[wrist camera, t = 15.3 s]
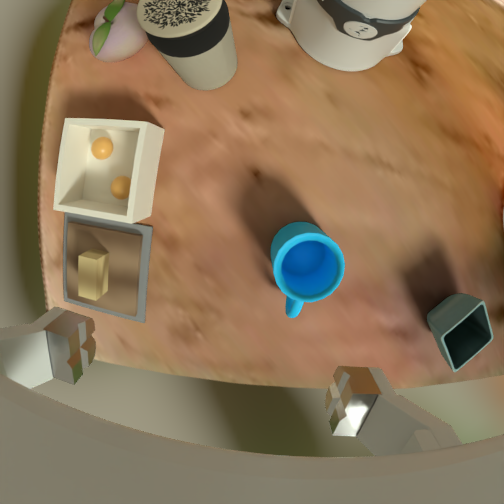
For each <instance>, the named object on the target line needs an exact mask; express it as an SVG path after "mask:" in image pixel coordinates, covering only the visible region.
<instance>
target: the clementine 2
mask: <svg viewBox="0 0 504 504" xmlns="http://www.w3.org/2000/svg"><path fill="white" fill-rule="evenodd" d="M130 186H131V179H130V178H129V177H127V176H118V177H116V178H115V179H114V180H113V181H112V183H111V187H110V189H111V193H112V195H113V196H114V197H115V198H117V199H120V200H123V199H126V198H128V197H129V193H130Z"/></svg>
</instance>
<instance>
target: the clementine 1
mask: <svg viewBox="0 0 504 504" xmlns="http://www.w3.org/2000/svg"><path fill="white" fill-rule="evenodd" d="M91 152H92V155H93V156H94V157H95V158H97V159H99V160H103V159H106V158H108V157H109V156H110V155H111V154H112V152H113V143H112V141H111V140H110V139H109V138H107V137H99V138H97V139H96V140H95V141H94V142H93V143H92V146H91Z"/></svg>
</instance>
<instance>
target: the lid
mask: <svg viewBox="0 0 504 504" xmlns="http://www.w3.org/2000/svg"><path fill="white" fill-rule="evenodd" d="M142 242H143V235H141V234H135V233H130V232H125V231H120V230H114V229H109V228H104V227H99V226H93V225H88V224H83V223H78V222H73V221H71V222H68V232H67V298H69V299H72V300H75V301H79V302H82V303H86V304H89V305H93V306H96V307H100V308H103V309H107V310H111V311H114V312H118V313H122V314H126V315H130V316H134V317H135V316H136V315H137V309H138V291H139V276H140V263H141V252H142Z"/></svg>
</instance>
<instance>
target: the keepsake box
mask: <svg viewBox="0 0 504 504" xmlns="http://www.w3.org/2000/svg"><path fill="white" fill-rule="evenodd" d="M164 131H165V129H163V128H160V127H158V126H156V125H154V124H151V123H149V122H144V121H131V120H114V119H91V118H65V122H64V127H63V133H62V139H61V145H60V152H59V159H58V166H57V175H56V184H55V195H54V209H53V210H58V211H63V212H69V213H75V214H80V215H86V216H91V217H97V218H102V219H108V220H114V221H119V222H125V223H130V224H133V223H135V222H137V221H140V220H142V219H144V218H147V217H149V216H151V211H152V204H153V197H154V190H155V183H156V176H157V170H158V164H159V158H160V153H161V147H162V142H163V136H164ZM99 137H107V138H109V139H110V140H111V141H112V143H113V152H112V154H111V155H110V156H109V157H108V158H106V159H103V160H99V159H97V158H95V157H94V156H93V155H92V152H91V146H92V143H93V142H94V141H95V140H96V139H97V138H99ZM118 176H127V177H129V178H130V179H131V186H130V193H129V197H128V198H126V199H123V200H120V199H117V198H115V197H114V196H113V195H112V193H111V189H110V187H111V183H112V181H113V180H114V179H115V178H116V177H118Z"/></svg>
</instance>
